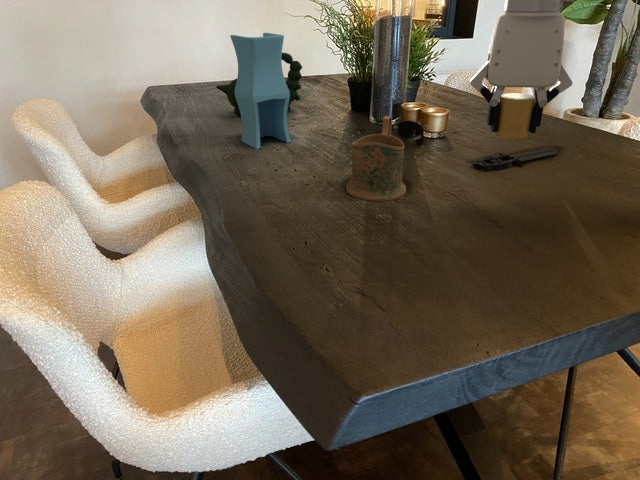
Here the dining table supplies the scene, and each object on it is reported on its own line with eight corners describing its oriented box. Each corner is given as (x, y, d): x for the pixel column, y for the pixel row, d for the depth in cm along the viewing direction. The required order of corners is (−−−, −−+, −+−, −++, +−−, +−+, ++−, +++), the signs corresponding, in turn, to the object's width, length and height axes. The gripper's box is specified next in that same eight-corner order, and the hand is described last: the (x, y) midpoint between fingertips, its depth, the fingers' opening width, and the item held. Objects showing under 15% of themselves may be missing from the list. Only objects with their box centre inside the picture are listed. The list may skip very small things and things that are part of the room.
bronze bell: (413, 172, 103) (418, 115, 98) (401, 204, 89) (406, 139, 83) (360, 167, 106) (361, 111, 101) (339, 197, 91) (340, 134, 86)
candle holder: (524, 130, 80) (531, 92, 77) (530, 139, 76) (538, 99, 73) (492, 129, 81) (498, 92, 78) (497, 138, 76) (503, 99, 74)
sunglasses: (429, 146, 119) (429, 126, 116) (389, 160, 115) (388, 139, 112) (403, 135, 127) (402, 117, 125) (365, 148, 123) (363, 129, 120)
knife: (553, 150, 116) (555, 144, 115) (575, 158, 111) (577, 152, 110) (466, 164, 108) (467, 157, 107) (485, 173, 102) (486, 166, 102)
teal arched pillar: (272, 133, 130) (266, 32, 119) (291, 142, 123) (287, 35, 112) (238, 139, 126) (229, 35, 114) (256, 149, 118) (248, 38, 107)
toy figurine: (296, 114, 156) (216, 111, 151) (300, 51, 147) (216, 46, 143) (300, 122, 148) (216, 118, 143) (304, 55, 139) (215, 49, 134)
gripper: (589, 2, 71) (562, 125, 80) (468, 4, 74) (455, 123, 83) (606, 4, 65) (575, 138, 73) (473, 6, 68) (458, 135, 76)
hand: (512, 129), depth 78 cm, fingers closed on candle holder, 5 cm apart
